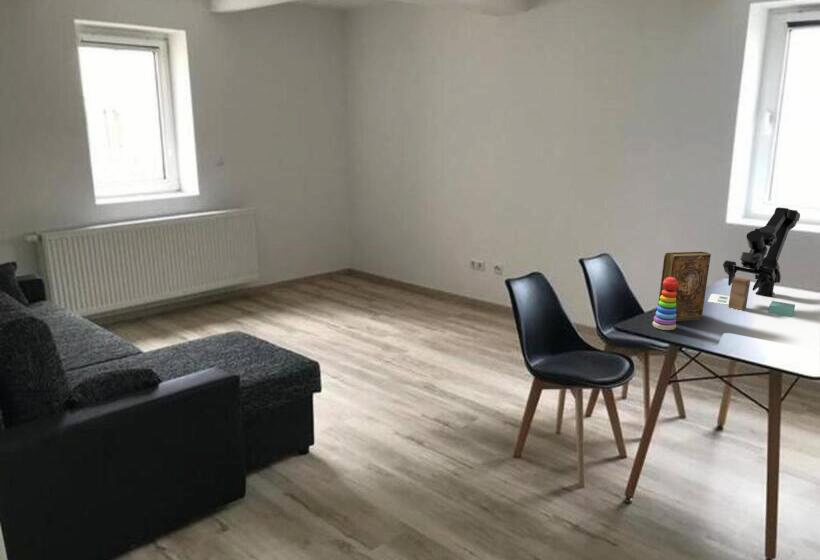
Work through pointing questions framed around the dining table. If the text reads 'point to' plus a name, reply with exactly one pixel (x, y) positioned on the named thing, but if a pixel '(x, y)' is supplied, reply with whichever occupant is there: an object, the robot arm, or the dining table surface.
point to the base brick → (781, 308)
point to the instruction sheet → (719, 299)
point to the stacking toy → (667, 306)
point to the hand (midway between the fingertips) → (740, 287)
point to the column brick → (739, 293)
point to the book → (687, 282)
